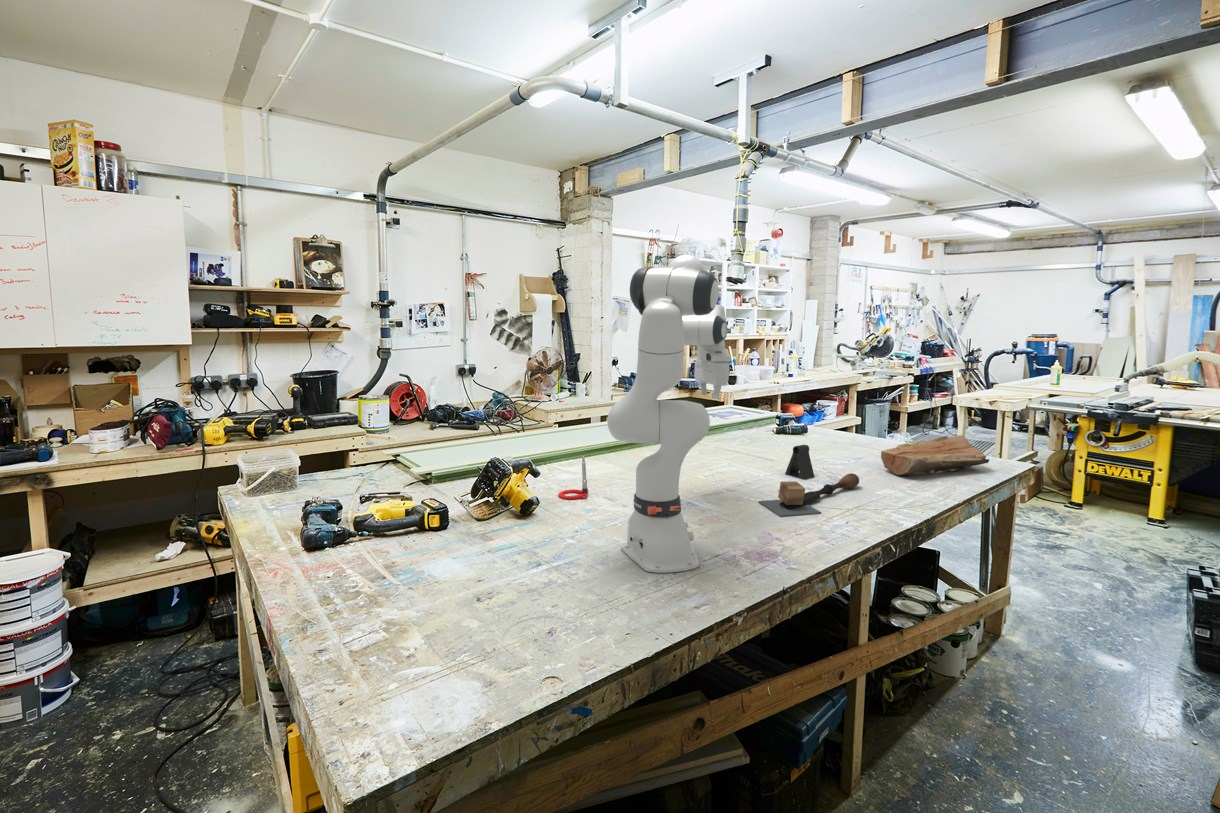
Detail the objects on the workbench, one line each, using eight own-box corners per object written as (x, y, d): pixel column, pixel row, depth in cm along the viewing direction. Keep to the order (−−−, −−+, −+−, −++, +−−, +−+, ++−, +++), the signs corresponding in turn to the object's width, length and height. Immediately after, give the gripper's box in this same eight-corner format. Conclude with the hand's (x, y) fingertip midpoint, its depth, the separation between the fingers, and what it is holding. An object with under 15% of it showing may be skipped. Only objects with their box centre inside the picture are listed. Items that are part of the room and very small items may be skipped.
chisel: (861, 487, 203) (863, 474, 202) (791, 514, 177) (793, 500, 176) (848, 483, 207) (850, 470, 206) (777, 509, 181) (779, 494, 179)
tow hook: (556, 501, 187) (586, 500, 187) (554, 460, 185) (584, 459, 185) (560, 493, 196) (589, 492, 196) (558, 454, 194) (587, 453, 194)
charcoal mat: (821, 513, 175) (821, 512, 175) (780, 517, 172) (780, 515, 172) (796, 499, 189) (796, 498, 189) (758, 502, 185) (758, 501, 185)
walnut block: (802, 504, 178) (805, 488, 177) (786, 504, 177) (789, 488, 175) (793, 497, 183) (796, 481, 182) (778, 497, 182) (780, 481, 180)
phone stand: (814, 477, 215) (816, 446, 214) (804, 480, 212) (806, 448, 210) (795, 472, 223) (796, 442, 221) (784, 474, 220) (786, 444, 218)
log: (961, 461, 239) (957, 427, 237) (999, 468, 222) (996, 432, 220) (880, 485, 228) (875, 449, 226) (914, 494, 211) (910, 456, 209)
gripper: (690, 352, 194) (689, 392, 196) (714, 356, 174) (713, 401, 176) (707, 352, 195) (706, 392, 197) (733, 356, 176) (731, 400, 178)
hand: (709, 396), depth 187 cm, fingers open, 8 cm apart
